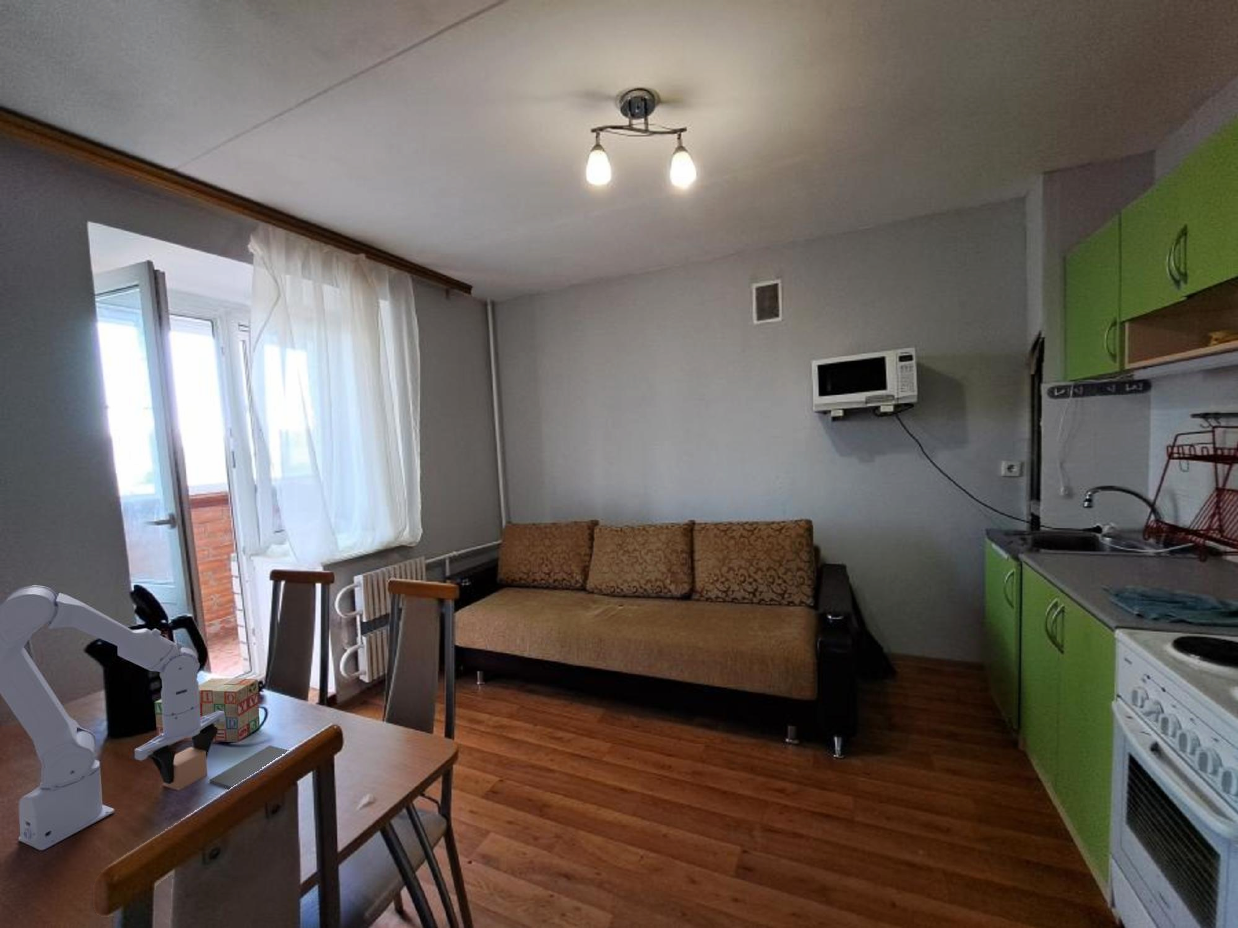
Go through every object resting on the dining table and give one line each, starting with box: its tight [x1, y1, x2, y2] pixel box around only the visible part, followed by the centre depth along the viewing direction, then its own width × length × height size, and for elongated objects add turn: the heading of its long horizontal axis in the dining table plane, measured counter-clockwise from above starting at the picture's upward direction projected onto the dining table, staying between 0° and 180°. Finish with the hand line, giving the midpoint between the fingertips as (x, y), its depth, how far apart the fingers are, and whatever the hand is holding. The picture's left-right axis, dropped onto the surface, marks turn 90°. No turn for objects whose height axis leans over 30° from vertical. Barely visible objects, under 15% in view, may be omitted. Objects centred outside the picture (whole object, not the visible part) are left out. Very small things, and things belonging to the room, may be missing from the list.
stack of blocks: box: [154, 677, 261, 743], centre depth 116 cm, size 21×6×12 cm, turn 85°
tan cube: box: [162, 746, 208, 791], centre depth 99 cm, size 5×5×5 cm
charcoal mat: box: [209, 745, 289, 790], centre depth 102 cm, size 12×12×1 cm
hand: (185, 772), depth 99 cm, fingers closed on tan cube, 5 cm apart
